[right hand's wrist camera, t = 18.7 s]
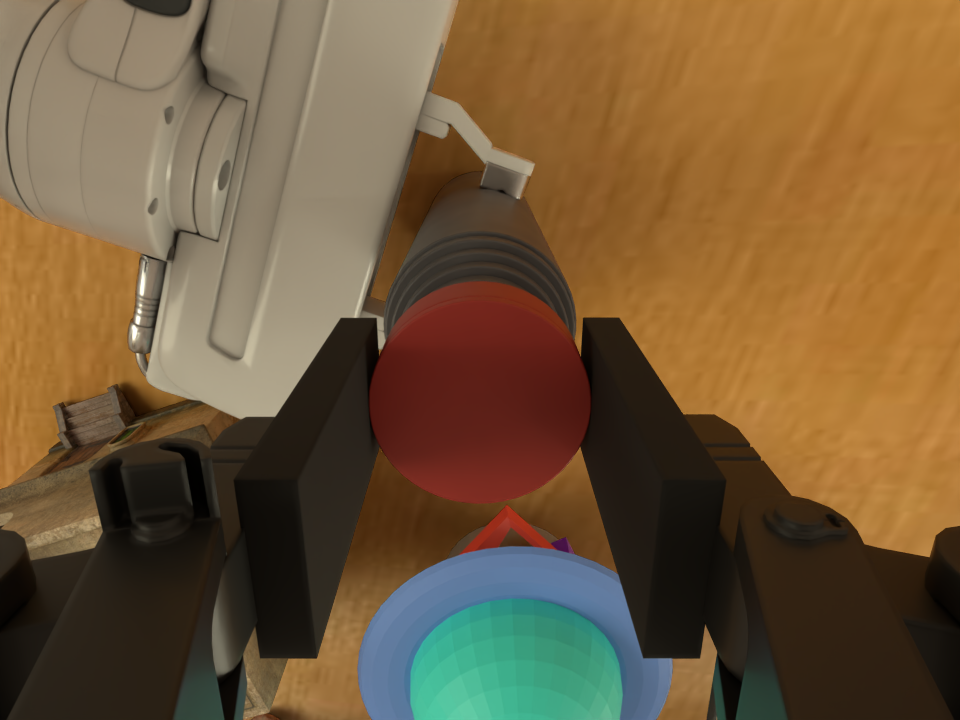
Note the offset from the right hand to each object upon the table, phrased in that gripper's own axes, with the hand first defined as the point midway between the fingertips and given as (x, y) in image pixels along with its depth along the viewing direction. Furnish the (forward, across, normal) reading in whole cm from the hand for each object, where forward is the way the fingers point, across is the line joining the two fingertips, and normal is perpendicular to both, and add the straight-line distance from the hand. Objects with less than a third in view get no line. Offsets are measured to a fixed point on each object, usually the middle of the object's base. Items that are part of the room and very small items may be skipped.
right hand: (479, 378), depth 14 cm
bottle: (+20, 0, 0) cm, 20 cm away
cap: (-1, 0, 0) cm, 1 cm away
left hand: (+14, -1, 0) cm, 14 cm away
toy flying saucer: (+20, -2, +20) cm, 28 cm away
